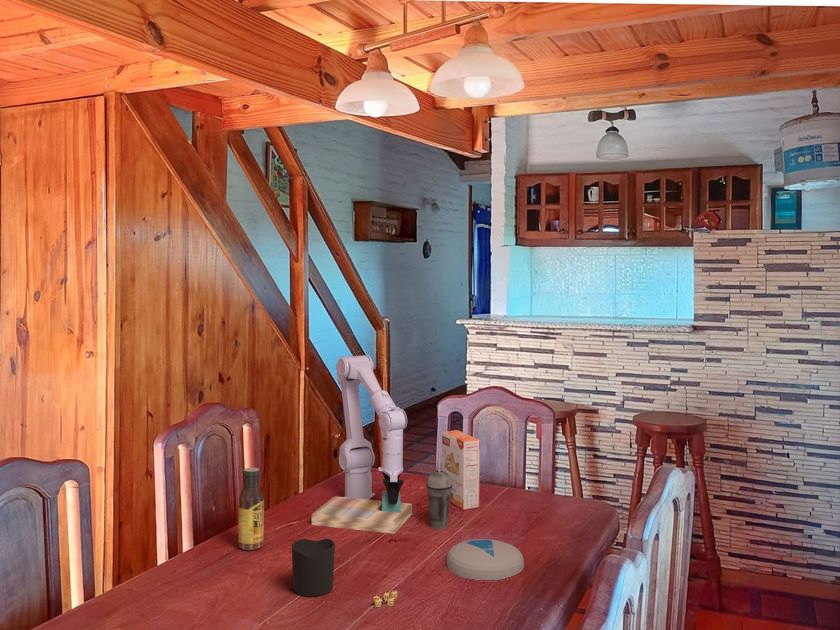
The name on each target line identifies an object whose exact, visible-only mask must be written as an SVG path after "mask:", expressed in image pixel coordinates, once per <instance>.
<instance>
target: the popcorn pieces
mask: <svg viewBox="0 0 840 630" xmlns="http://www.w3.org/2000/svg"><path fill="white" fill-rule="evenodd" d="M397 597H398V591H397V590H396V589H393V590H390V591H389V592H385V593H384V594H383V599H381V597H380V596H378V595H375V596H374V597H373V598H372V599H373V606H374V607H375V608H380V607H381V606H382V602H383V600H384V602H386V605H387V606H388V607H391V606H394V604H395V600H396V599H397Z"/></svg>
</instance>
